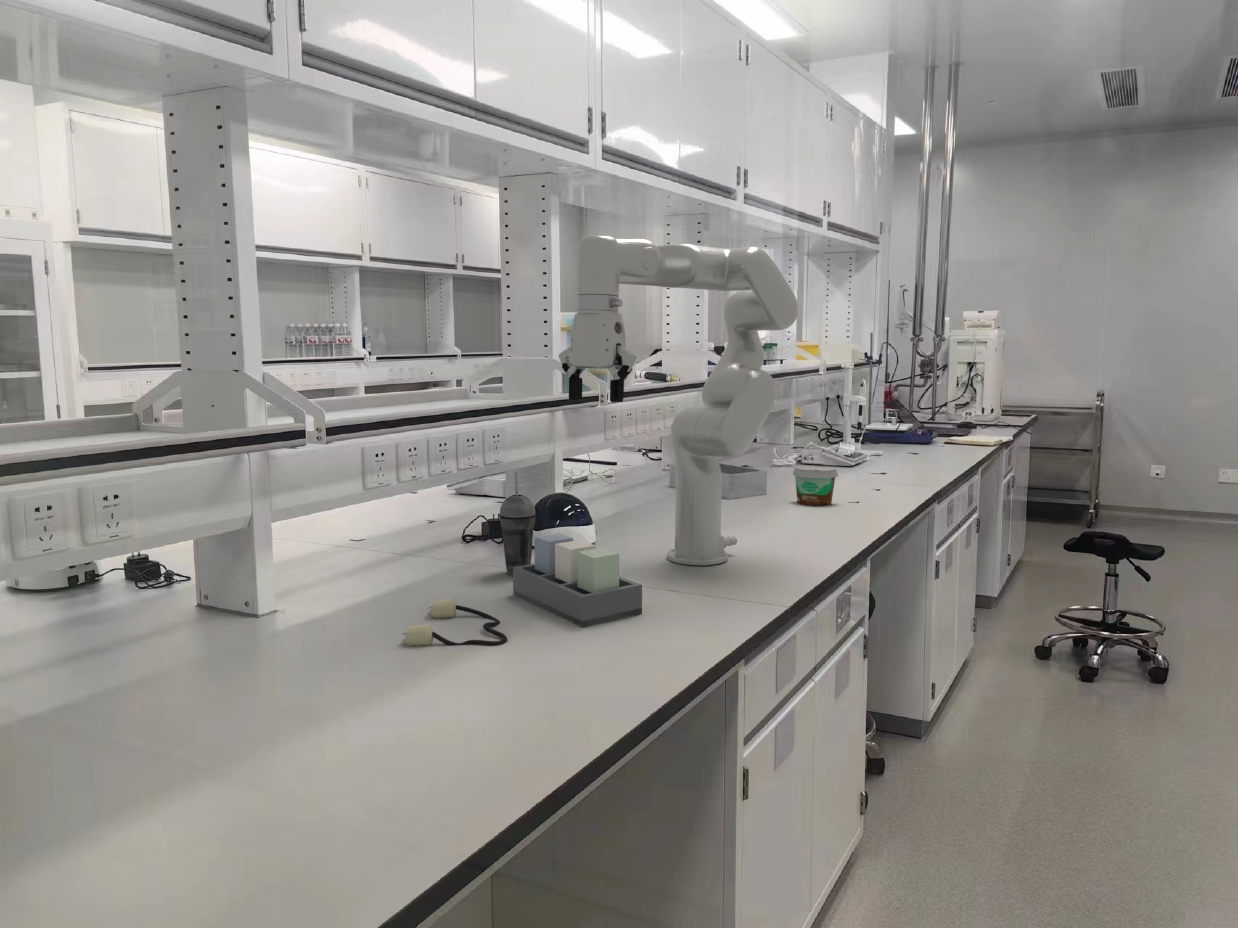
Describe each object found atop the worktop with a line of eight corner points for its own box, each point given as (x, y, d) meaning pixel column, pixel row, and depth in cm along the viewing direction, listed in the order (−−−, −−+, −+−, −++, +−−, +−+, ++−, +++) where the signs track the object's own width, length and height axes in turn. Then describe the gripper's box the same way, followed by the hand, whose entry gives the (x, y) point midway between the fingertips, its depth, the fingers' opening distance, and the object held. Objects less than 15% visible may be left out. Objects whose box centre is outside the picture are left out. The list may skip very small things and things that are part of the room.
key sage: (602, 582, 150) (601, 547, 149) (619, 588, 146) (619, 553, 145) (577, 586, 147) (577, 551, 146) (594, 593, 143) (594, 557, 142)
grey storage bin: (705, 482, 282) (706, 460, 281) (766, 494, 261) (767, 470, 260) (669, 486, 274) (669, 464, 273) (729, 499, 252) (729, 475, 251)
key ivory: (579, 573, 156) (579, 540, 155) (595, 579, 152) (595, 545, 151) (555, 577, 153) (555, 543, 152) (570, 584, 149) (570, 549, 148)
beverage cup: (502, 579, 168) (500, 475, 166) (497, 569, 175) (495, 470, 173) (540, 576, 170) (538, 474, 168) (533, 567, 177) (532, 468, 174)
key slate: (558, 565, 161) (558, 533, 160) (573, 570, 157) (573, 538, 156) (534, 569, 158) (534, 536, 158) (549, 575, 154) (548, 541, 154)
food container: (789, 505, 243) (790, 469, 242) (791, 501, 249) (793, 466, 247) (835, 508, 240) (836, 471, 238) (836, 504, 245) (838, 468, 244)
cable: (521, 617, 147) (521, 597, 147) (503, 652, 131) (502, 629, 130) (429, 615, 148) (428, 595, 147) (400, 649, 132) (399, 627, 131)
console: (569, 583, 165) (569, 557, 165) (642, 613, 147) (642, 584, 147) (513, 594, 158) (512, 567, 158) (582, 627, 140) (582, 597, 140)
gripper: (648, 306, 157) (645, 402, 159) (574, 308, 168) (572, 397, 170) (623, 304, 151) (620, 403, 154) (548, 305, 162) (546, 398, 164)
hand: (595, 400), depth 162 cm, fingers open, 9 cm apart
